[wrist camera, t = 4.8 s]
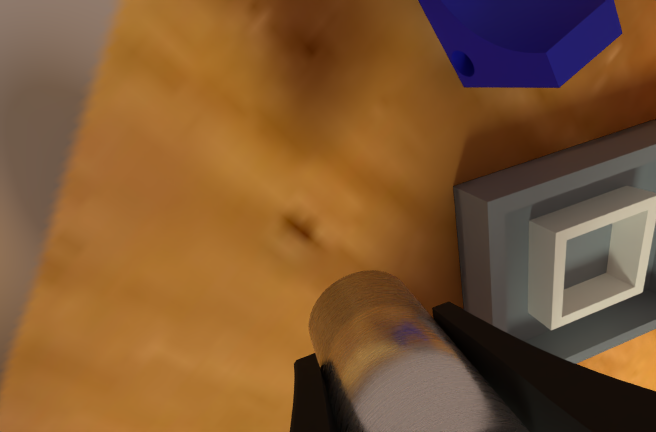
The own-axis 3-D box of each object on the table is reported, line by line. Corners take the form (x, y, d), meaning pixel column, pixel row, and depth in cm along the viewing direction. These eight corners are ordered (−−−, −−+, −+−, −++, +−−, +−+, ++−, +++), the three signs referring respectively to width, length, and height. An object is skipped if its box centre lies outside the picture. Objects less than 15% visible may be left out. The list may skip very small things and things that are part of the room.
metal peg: (417, 339, 14) (538, 507, 8) (323, 376, 13) (386, 584, 8) (403, 255, 12) (543, 396, 7) (295, 293, 11) (350, 482, 6)
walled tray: (647, 291, 28) (691, 312, 26) (468, 366, 26) (495, 398, 23) (682, 110, 22) (744, 113, 20) (453, 186, 20) (487, 202, 17)
